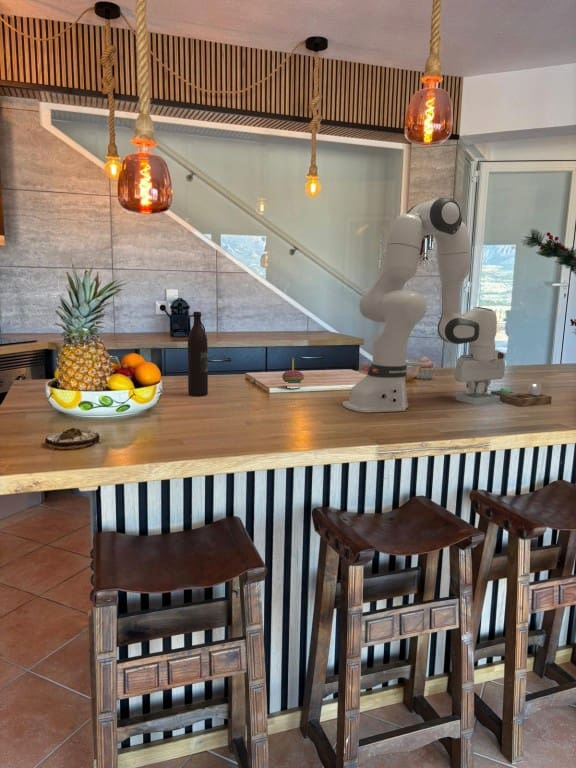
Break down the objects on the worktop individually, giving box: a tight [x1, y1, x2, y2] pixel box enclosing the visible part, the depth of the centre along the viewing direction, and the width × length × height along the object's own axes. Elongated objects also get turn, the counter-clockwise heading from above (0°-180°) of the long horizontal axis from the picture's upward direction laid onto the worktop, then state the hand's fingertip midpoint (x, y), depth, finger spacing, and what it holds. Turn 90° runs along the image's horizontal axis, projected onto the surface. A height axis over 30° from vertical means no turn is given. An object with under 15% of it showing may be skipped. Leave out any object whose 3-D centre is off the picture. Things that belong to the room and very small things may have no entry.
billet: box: [472, 381, 485, 398], centre depth 200 cm, size 4×4×7 cm
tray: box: [455, 392, 501, 406], centre depth 200 cm, size 12×9×2 cm
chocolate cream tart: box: [44, 427, 105, 451], centre depth 141 cm, size 15×15×4 cm
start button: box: [500, 387, 512, 394], centre depth 204 cm, size 3×3×3 cm
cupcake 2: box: [417, 355, 436, 381], centre depth 249 cm, size 9×9×10 cm
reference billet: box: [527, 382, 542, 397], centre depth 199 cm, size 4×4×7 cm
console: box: [490, 389, 521, 402], centre depth 205 cm, size 7×7×3 cm
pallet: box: [501, 392, 553, 408], centre depth 198 cm, size 15×8×3 cm, turn 116°
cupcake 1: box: [281, 358, 305, 384], centre depth 221 cm, size 9×8×12 cm
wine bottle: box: [187, 311, 209, 397], centre depth 203 cm, size 7×7×30 cm
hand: (478, 392), depth 200 cm, fingers closed on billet, 4 cm apart
